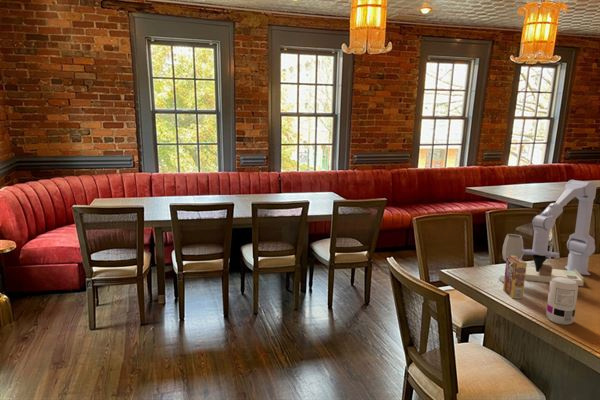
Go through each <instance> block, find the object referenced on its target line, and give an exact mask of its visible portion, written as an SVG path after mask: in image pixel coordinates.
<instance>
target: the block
mask: <svg viewBox="0 0 600 400" xmlns="http://www.w3.org/2000/svg"><path fill="white" fill-rule="evenodd" d="M552 269H553V267H552V265H551V264H546V263H543V264H542V265H541V267H540V270H539V273H540V275H544V276H551V273H552Z"/></svg>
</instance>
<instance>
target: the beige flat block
mask: <svg viewBox="0 0 600 400" xmlns="http://www.w3.org/2000/svg"><path fill="white" fill-rule="evenodd" d="M555 276H561V277H567V278H571V279H573V280H575V281H576V282H577V285H578V287H579V286H580V287H584V280H585V278H584V276H582V274H579V272H578V271H577V270H576V269H574V271H568V270H567V269H565V270H564V269H555V268H552V273H551V276H544V275H540V273H539V272H536V267H535V266H526V274H525V281H532V282H534V281H535V282H540V283H541V282H542V283H550V281H551V280H552V278H553V277H555Z"/></svg>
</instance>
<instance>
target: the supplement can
mask: <svg viewBox="0 0 600 400" xmlns="http://www.w3.org/2000/svg"><path fill="white" fill-rule="evenodd" d="M578 292H579V286H578V285H577V282H576V281H575V280H573V279H571V278H567V277H561V276H555V277H553V278H552V280H551V281H550V282H549V288H548V293H547V294H548V297H547V304H546V311H545V312H546V314H545V315H546V316H545V317H546V318H547V319H548V320H549V321H551V322H552V323H555V324H557V325H565V326H566V325H567V326H569V325H571V324H573V323H574V321H575V316H576V315H575V314H576V306H577V299H578Z"/></svg>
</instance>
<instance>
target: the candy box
mask: <svg viewBox="0 0 600 400" xmlns="http://www.w3.org/2000/svg"><path fill="white" fill-rule="evenodd" d="M527 265H528V262H526V261H525V260H524V259H520V258H519V257H517V256H507V259H506V261H505V269H504V276H505V277H504V283H503V288H502V289H503V291H504V292H505V293H506V294H507V295H509V297H511V299H515V300H516V299H517V300H518V299H519V300H520V299H521V300H522V299H523V296H524V289H525V281H526V280H525V274H526V266H527Z"/></svg>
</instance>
